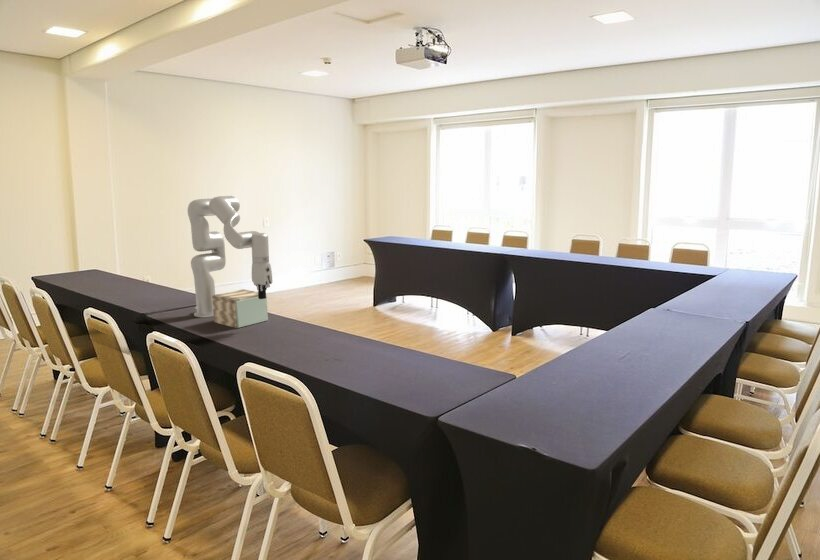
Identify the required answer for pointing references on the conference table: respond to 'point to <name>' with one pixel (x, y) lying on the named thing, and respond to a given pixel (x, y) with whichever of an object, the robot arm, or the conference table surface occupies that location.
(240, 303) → the mint green drawer
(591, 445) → the conference table surface
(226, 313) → the beige brown striped box
